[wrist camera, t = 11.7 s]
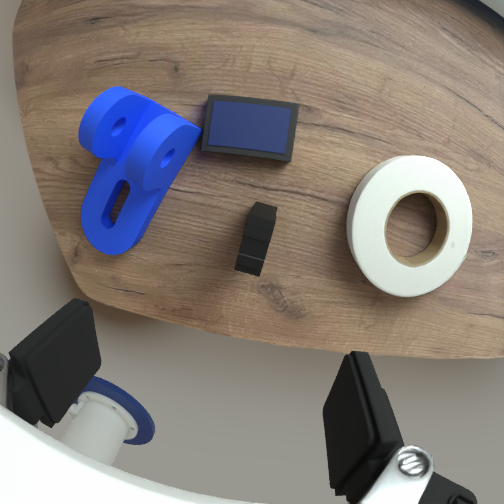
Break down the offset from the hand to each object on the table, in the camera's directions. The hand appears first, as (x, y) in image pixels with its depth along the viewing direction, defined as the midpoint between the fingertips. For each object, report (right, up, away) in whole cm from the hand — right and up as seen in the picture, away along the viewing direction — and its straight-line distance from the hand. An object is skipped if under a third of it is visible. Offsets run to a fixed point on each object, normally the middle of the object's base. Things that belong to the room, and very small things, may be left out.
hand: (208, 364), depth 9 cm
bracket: (-12, +12, +21) cm, 27 cm away
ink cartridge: (+2, +7, +21) cm, 23 cm away
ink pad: (+1, +16, +18) cm, 25 cm away
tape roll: (+19, +7, +20) cm, 28 cm away
